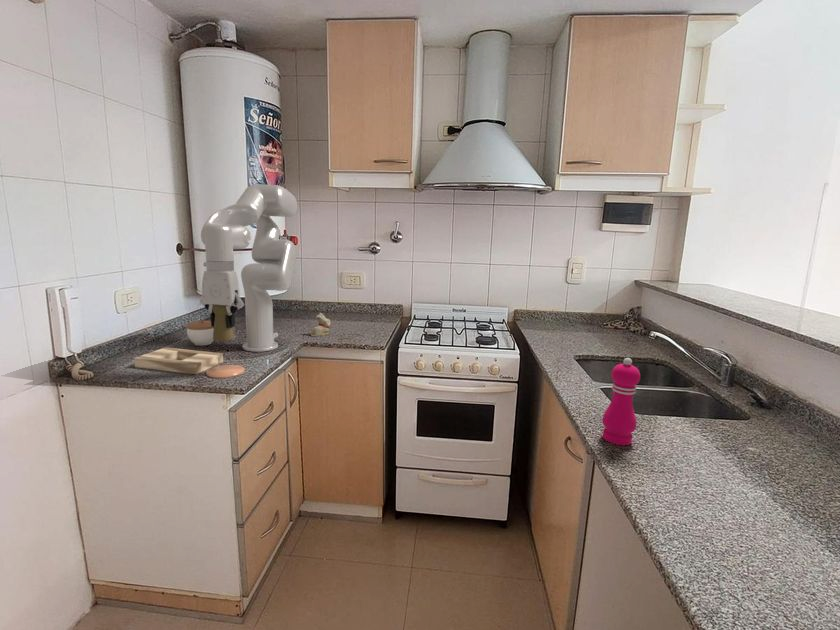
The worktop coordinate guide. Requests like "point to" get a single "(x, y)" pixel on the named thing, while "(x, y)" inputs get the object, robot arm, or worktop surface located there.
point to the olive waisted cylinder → (221, 324)
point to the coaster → (225, 371)
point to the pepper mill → (621, 405)
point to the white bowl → (200, 332)
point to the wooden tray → (179, 360)
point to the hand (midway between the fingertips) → (223, 325)
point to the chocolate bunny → (321, 325)
